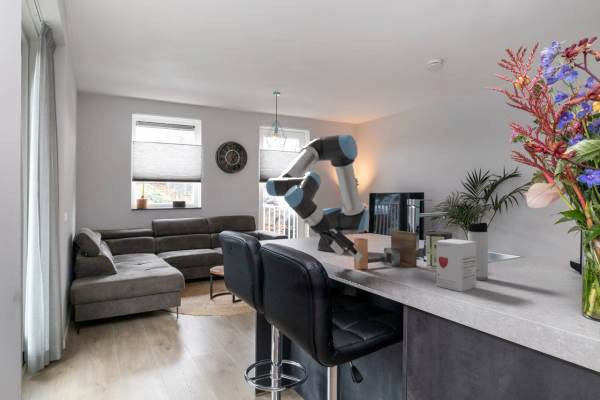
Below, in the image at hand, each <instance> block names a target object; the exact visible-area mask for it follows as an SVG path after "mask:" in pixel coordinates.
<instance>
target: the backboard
mask: <svg viewBox="0 0 600 400" xmlns="http://www.w3.org/2000/svg"><path fill="white" fill-rule="evenodd" d="M390 243H391V244H390V248H394V249H399V250H400V267H403V268H406V269H407V268H410V269H411V268H417V267H418V264H417V262H418V261H417V260H418V259H417V256H418V255H417V232H412V231H403V230H398V229H397V230H396V229H394V230H393V229H391V231H390Z"/></svg>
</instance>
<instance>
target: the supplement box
mask: <svg viewBox="0 0 600 400" xmlns="http://www.w3.org/2000/svg"><path fill="white" fill-rule="evenodd" d="M436 287H439V288H443V289H449V290H452V291H457V292H465V291H466V292H467V291H469V290H472V289H476V288H477V280H476V241H468V239H467V240H465V239H457V238H452V239H448V240H439V241H437V268H436Z"/></svg>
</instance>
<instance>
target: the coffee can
mask: <svg viewBox="0 0 600 400" xmlns="http://www.w3.org/2000/svg"><path fill="white" fill-rule="evenodd" d="M448 239H453V232H450V231H427V232H425V245H426V246H425V248H426V249H425V253H426V257H425V260H426V261H425V262H426V267H428V268H430V269H437V241H439V240H448Z"/></svg>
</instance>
